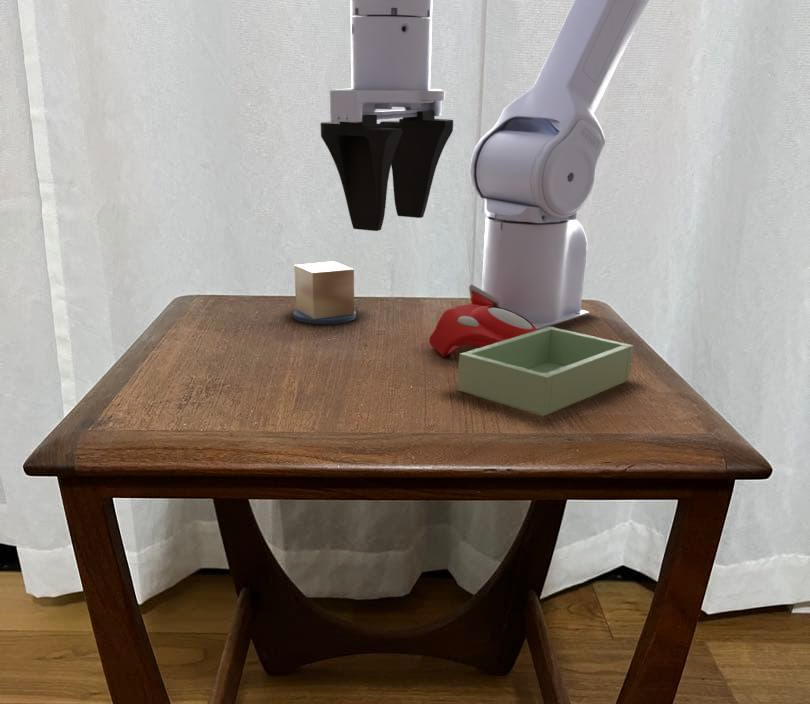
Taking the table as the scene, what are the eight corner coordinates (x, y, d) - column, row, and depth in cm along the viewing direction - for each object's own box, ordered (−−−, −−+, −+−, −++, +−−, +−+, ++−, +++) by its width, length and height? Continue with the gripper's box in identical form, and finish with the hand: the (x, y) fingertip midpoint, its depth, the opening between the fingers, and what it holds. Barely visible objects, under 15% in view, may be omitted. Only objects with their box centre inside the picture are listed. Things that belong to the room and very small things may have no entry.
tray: (545, 365, 67) (549, 326, 66) (628, 386, 63) (634, 345, 62) (457, 396, 60) (459, 353, 59) (542, 422, 56) (547, 377, 55)
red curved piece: (581, 345, 68) (486, 330, 62) (557, 394, 70) (462, 385, 64) (495, 279, 76) (402, 261, 70) (475, 326, 78) (384, 312, 72)
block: (335, 305, 82) (334, 261, 80) (354, 314, 79) (354, 269, 77) (295, 309, 80) (294, 264, 78) (313, 319, 77) (312, 273, 75)
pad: (327, 306, 83) (326, 302, 83) (368, 317, 80) (368, 312, 79) (281, 316, 79) (281, 311, 79) (322, 327, 76) (322, 323, 76)
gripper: (398, 11, 54) (395, 240, 60) (481, 24, 66) (472, 215, 72) (299, 12, 57) (307, 232, 63) (397, 24, 68) (395, 208, 75)
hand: (389, 222), depth 68 cm, fingers open, 7 cm apart
